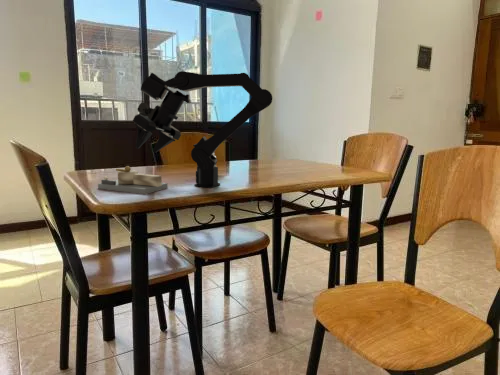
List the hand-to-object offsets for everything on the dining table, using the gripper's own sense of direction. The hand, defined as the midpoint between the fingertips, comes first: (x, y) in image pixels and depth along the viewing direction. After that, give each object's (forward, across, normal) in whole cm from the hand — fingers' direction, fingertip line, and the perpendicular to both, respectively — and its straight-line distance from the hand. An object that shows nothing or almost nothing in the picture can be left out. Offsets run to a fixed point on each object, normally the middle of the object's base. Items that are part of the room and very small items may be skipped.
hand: (145, 150), depth 124 cm
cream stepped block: (+8, +6, +8) cm, 13 cm away
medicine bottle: (+1, -30, +9) cm, 31 cm away
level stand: (+11, +4, +6) cm, 13 cm away
